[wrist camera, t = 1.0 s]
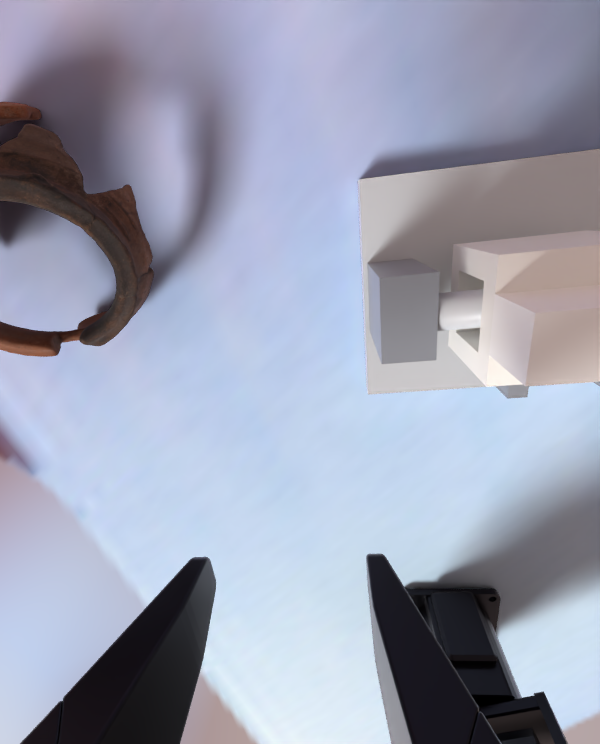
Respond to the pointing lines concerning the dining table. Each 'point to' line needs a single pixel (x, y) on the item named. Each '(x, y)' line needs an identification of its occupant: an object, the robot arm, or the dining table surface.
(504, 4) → the dining table surface
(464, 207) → the slider rail board
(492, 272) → the white slider block
